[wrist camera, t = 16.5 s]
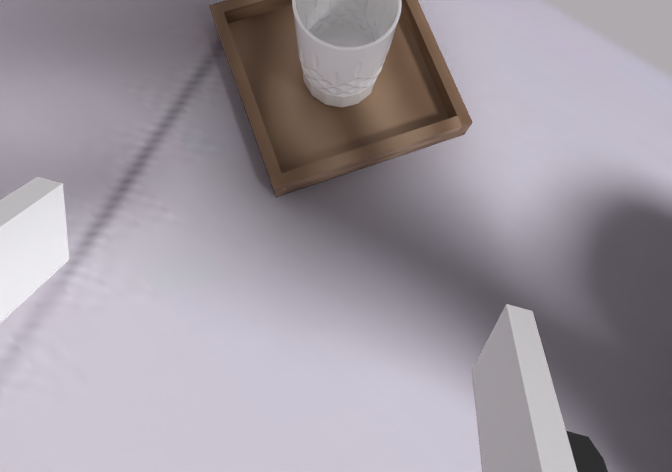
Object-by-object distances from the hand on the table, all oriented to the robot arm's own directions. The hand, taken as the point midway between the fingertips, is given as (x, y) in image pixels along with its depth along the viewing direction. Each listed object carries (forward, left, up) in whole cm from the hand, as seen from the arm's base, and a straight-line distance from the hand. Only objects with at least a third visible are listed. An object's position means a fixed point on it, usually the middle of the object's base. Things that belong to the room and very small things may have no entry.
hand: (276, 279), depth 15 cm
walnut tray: (-11, -20, -28) cm, 36 cm away
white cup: (-11, -20, -27) cm, 35 cm away
